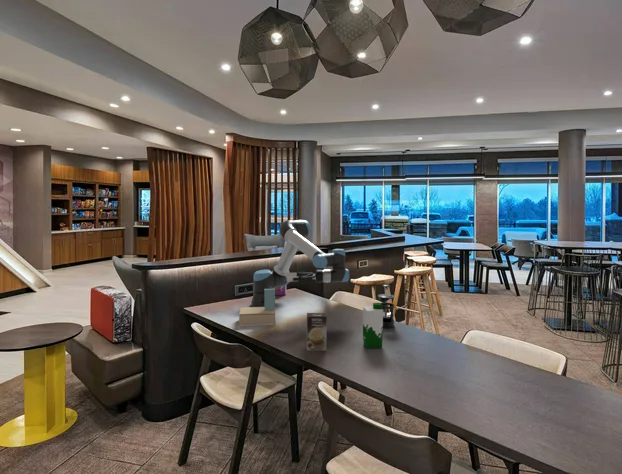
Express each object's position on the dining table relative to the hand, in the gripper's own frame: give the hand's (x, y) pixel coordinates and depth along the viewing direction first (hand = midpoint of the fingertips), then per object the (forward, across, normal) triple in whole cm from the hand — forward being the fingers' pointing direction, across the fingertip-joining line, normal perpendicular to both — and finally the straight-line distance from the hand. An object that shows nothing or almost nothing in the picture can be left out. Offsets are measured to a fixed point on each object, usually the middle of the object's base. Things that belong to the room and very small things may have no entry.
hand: (286, 277), depth 211 cm
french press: (-54, -16, -26) cm, 62 cm away
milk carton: (-38, -45, -26) cm, 64 cm away
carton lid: (+17, 0, -19) cm, 26 cm away
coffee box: (-11, -45, -26) cm, 54 cm away
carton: (+17, 0, -26) cm, 31 cm away
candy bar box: (+2, +69, -26) cm, 73 cm away
